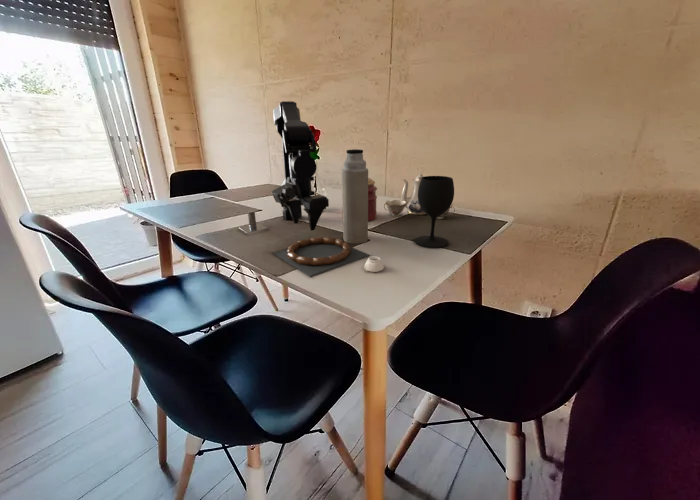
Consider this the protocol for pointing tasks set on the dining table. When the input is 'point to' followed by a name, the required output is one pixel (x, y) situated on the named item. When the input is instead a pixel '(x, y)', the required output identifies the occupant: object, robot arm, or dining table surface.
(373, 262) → the white jar
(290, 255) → the ring
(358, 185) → the thermos bottle
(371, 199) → the kitchen canister
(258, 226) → the metal peg stand
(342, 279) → the dining table surface
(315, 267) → the mat
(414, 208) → the chinaware
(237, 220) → the dining table surface
